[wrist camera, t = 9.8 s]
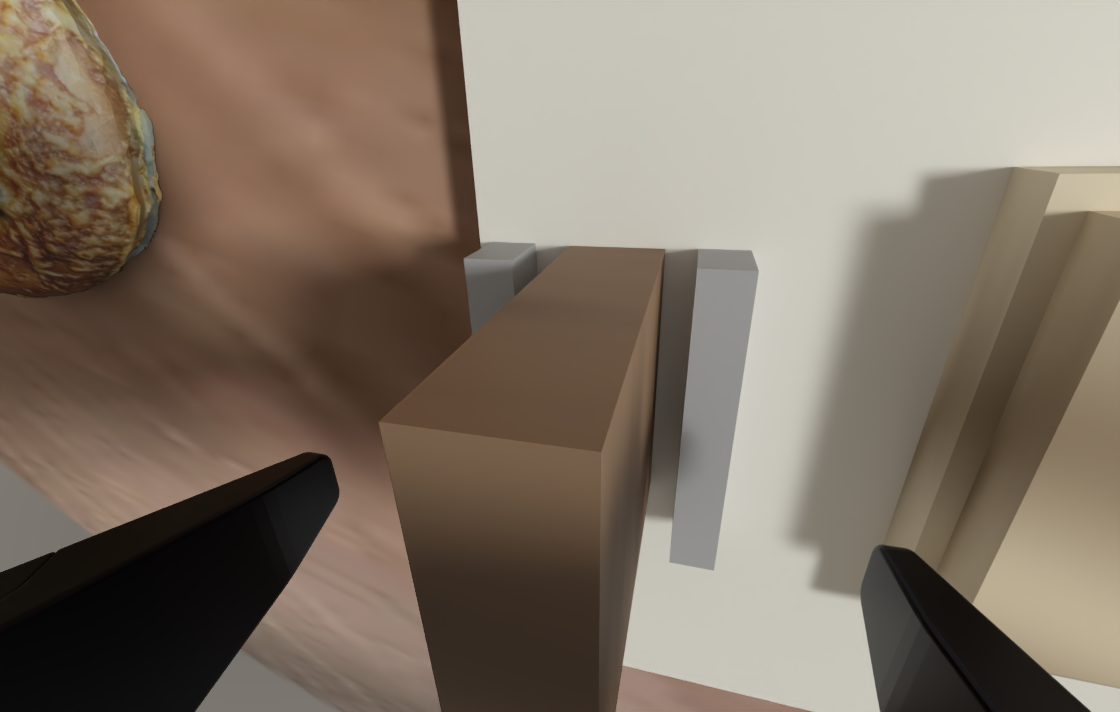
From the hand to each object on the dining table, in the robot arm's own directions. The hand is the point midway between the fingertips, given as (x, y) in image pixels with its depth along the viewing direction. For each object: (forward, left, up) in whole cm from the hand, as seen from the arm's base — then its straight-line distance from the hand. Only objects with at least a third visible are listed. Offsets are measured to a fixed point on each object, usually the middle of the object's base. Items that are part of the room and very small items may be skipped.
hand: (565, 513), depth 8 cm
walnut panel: (0, 0, -4) cm, 4 cm away
